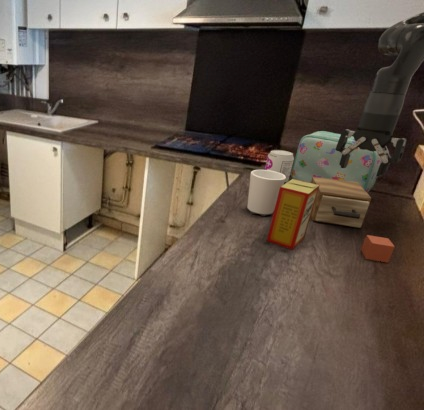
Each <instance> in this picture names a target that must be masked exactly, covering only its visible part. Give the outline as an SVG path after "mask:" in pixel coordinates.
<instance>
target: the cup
mask: <svg viewBox="0 0 424 410" xmlns="http://www.w3.org/2000/svg"><path fill="white" fill-rule="evenodd" d="M285 179H286V176H285V175H283V174H281V173H279V172H275V171H271V170H265V169H253V170H252V171H250V177H249V186H248V187H249V188H248V197H247V210H248V211H249V212H250V214H252V215H257V214H258V215H260V216H261V217H266V216H270V215H272V216H273V214H274V210H275V206H276V202H277V198H278V194H279V190H280V187H281V186H282V185H284V182H285Z"/></svg>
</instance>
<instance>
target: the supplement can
mask: <svg viewBox="0 0 424 410" xmlns="http://www.w3.org/2000/svg"><path fill="white" fill-rule="evenodd" d="M265 161H266V162H265V165H264V166H265V167H264V170H271V171H275V172H279V173H281V174H283V175H285V176H286V179H285V182H284V184H286V183H287V182H289V181H290V175H291V173H292V169H293V165H294V161H295V157H294V153H293V152H290V151H287V150H281V149H272V150H270V152H269V153H268V154H267V157H266V160H265Z"/></svg>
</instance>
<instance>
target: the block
mask: <svg viewBox="0 0 424 410" xmlns="http://www.w3.org/2000/svg"><path fill="white" fill-rule="evenodd" d="M395 248H396V247H395V245H394V244H393V242H392V241H391V240H390V238H387V237H382V236H376V235H369V234H366V236H365V239H364V241H363V244H362V246H361V249H360V252H361V253H362V255H363V256H364V258H365V260H368V261H369V260H370V261H375V262H380V261H381V262H380V263H387V264H389V262H390V260H391V257H392V255H393V253H394V250H395Z"/></svg>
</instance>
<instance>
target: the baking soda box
mask: <svg viewBox="0 0 424 410" xmlns="http://www.w3.org/2000/svg"><path fill="white" fill-rule="evenodd" d="M319 186H320V185H318V184H313V183H309V182H305V181H300V180H296V179H293V178H292V179H289V180H288V182H287V183H286V184H284V185H282V186H281V187H280V190H279V194H278V198H277V202H276V206H275V209H274V211H273V213H272V218H271V223H270V225H269V226H270V227H269V230H268V235H267V238H266V241H267V242H269V243H273V244H275V245H278V246H280V247H284V248H286V249H290V250H294V249H295V248H296V247H297V246H299V244H300V243H301V242H302V241H303V240H304V239H305V236H306V233H307V230H308V226H309V223H310V219H311V213H312V210H313V206H314V203H315V200H316V196H317V193H318V189H319Z"/></svg>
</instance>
